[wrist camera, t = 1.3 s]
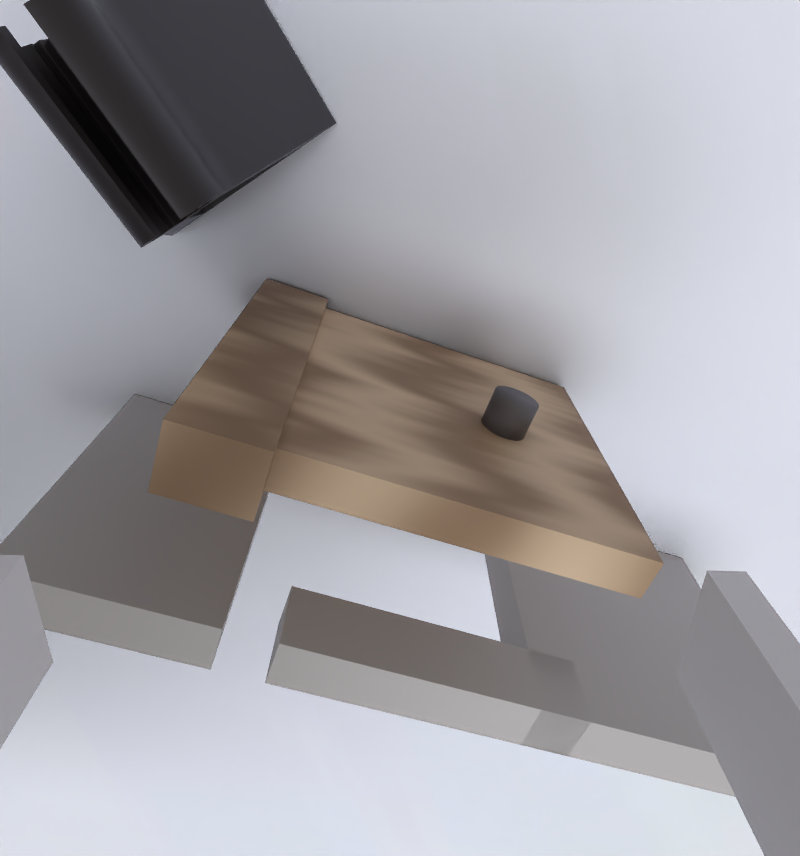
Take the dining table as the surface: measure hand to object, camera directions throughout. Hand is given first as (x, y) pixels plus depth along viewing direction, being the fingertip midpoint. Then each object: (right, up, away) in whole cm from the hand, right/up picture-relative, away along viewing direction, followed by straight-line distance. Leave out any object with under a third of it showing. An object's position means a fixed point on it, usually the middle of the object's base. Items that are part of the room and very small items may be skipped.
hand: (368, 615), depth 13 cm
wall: (+2, 0, +24) cm, 24 cm away
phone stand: (-7, +17, +15) cm, 24 cm away
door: (+1, +8, +19) cm, 21 cm away
